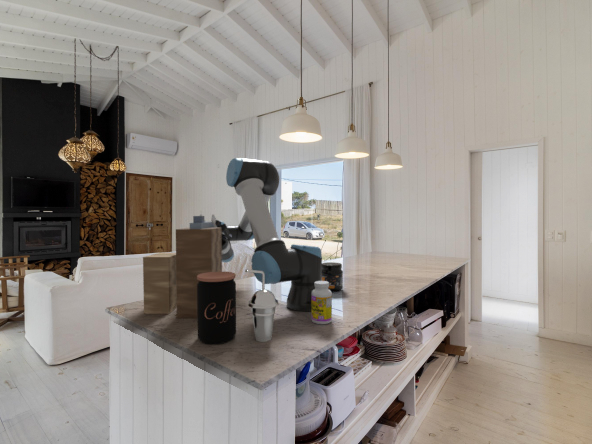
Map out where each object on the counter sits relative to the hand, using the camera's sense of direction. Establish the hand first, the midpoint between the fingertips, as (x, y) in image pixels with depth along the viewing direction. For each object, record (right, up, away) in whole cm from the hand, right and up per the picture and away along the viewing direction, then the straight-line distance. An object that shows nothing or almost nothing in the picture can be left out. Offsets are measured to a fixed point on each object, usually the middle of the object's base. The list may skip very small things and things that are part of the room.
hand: (206, 217), depth 124 cm
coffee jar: (+12, -35, -32) cm, 49 cm away
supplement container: (+51, -33, +25) cm, 66 cm away
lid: (0, -4, -3) cm, 5 cm away
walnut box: (0, -34, -7) cm, 35 cm away
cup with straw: (+25, -35, -33) cm, 54 cm away
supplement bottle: (+43, -34, -18) cm, 58 cm away
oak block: (-15, -34, -3) cm, 37 cm away
